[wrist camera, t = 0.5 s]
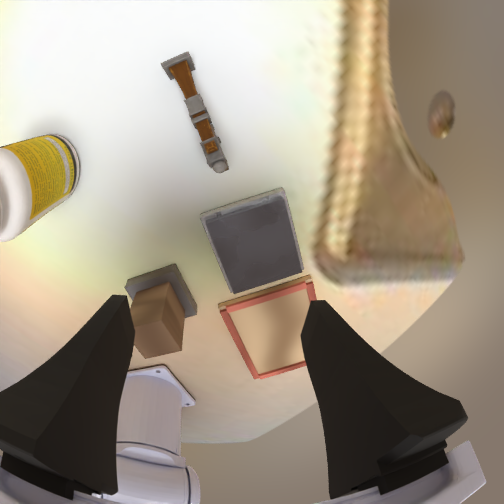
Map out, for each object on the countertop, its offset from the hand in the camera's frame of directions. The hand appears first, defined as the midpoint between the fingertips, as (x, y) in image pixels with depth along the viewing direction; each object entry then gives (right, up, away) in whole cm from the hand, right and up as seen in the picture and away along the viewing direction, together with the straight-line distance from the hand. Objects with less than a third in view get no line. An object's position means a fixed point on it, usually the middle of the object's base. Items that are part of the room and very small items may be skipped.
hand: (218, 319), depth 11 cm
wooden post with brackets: (-2, +12, +6) cm, 13 cm away
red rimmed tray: (+4, -5, +15) cm, 16 cm away
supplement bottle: (-14, +9, +6) cm, 17 cm away
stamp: (-6, -1, +12) cm, 13 cm away
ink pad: (+1, +3, +10) cm, 11 cm away
